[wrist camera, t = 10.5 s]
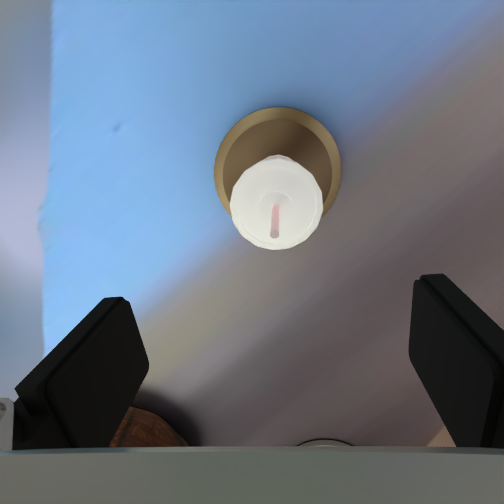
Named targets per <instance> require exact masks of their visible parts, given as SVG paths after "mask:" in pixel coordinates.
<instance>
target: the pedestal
mask: <svg viewBox="0 0 504 504" xmlns="http://www.w3.org/2000/svg"><path fill="white" fill-rule="evenodd" d="M274 155H282V156H286V157H289V158H290V159H292V160H293V161H294V162H297V163H298V164H300V165H301V166H302V167H304V168H305V169H306V170H307V171H309V172H310V173H311V174H312V175H313V177H314V178H315V180H316V182H317V184H318V186H319V188H320V190H321V192H322V202H323V212H322V215H321V217H320V219H321V218H322V217H323V216H324V215H325V214H326V212H327V211H328V210H329V209H330V207H331V206H332V204H333V202H334V200H335V198H336V196H337V194H338V190H339V187H340V182H341V174H342V167H341V159H340V154H339V151H338V148H337V145H336V143H335V141H334V139H333V137H332V136H331V134H330V133H329V132H328V130H327V129H326V128H325V127H324V126H323V125H322V124H321V123H320V122H319V121H318V120H316V119H315V118H314V117H312V116H310V115H308V114H307V113H305V112H302V111H299V110H296V109H292V108H286V107H272V108H266V109H262V110H259V111H256V112H253V113H251V114H249V115H248V116H246V117H244V118H243V119H241V120H240V121H239V122H237V123H236V124H235V125H234V126H233V127H232V128H231V129H230V131H229V132H228V133H227V134H226V136H225V137H224V139H223V141H222V142H221V145H220V147H219V149H218V152H217V156H216V159H215V166H214V180H215V186H216V190H217V194H218V196H219V199H220V201H221V203H222V205H223V207H224V208H225V209H226V211H227V212H228V214H229V215H230V216H231V217H232V215H231V209H230V200H231V196H232V191H233V187H234V185H235V184H236V183H237V181H238V180H239V178H240V177H241V175H242V174H243V173H244V171H245V170H247V169H248V168H250V167H252V166H253V165H255V164H256V163H258V162H260V161H262V160H264V159H265V158H267V157H269V156H274Z"/></svg>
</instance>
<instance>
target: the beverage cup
mask: <svg viewBox="0 0 504 504" xmlns="http://www.w3.org/2000/svg"><path fill="white" fill-rule="evenodd" d="M230 209H231V215H232V220H233V223H234V224H235V226H236V227H237V229H238V230H239V232H240V233H241V235H242V236H243V237H244V238H246V239H247V240H249V241H250V242H251V243H253V244H254V245H256V246H259V247H263V248H267V249H271V250H278V249H287V248H291V247H293V246H295V245H297V244H299V243H301V242H303V241H305V240H306V239H307V238H308V237H309V236H310V235H311V233H312V232H313V231H314V230H315V229H316V228H317V226H318V223H319V220H320V217H321V215H322V212H323V202H322V192H321V190H320V188H319V186H318V184H317V182H316V180H315V178H314V177H313V175H312V174H311V173H310V172H309V171H307V170H306V169H305V168H304V167H302V166H301V165H300V164H298V163H297V162H294V161H293V160H292V159H290V158H289V157H286V156H282V155H274V156H269V157H267V158H265V159H264V160H262V161H260V162H258V163H256V164H255V165H253V166H252V167H250V168H248V169H247V170H245V171H244V173H243V174H242V175H241V177H240V178H239V180H238V181H237V183H236V184H235V185H234V187H233V191H232V196H231V200H230Z"/></svg>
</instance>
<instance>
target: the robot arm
mask: <svg viewBox="0 0 504 504" xmlns="http://www.w3.org/2000/svg"><path fill="white" fill-rule="evenodd" d="M409 357H410V361H411V363H412V365H413V367H414V368H415V370H416V372H417V374H418V376H419V378H420V380H421V381H422V383H423V385H424V387H425V389H426V391H427V393H428V395H429V396H430V398H431V400H432V402H433V404H434V406H435V408H436V409H437V411H438V413H439V415H440V417H441V419H442V421H443V422H444V424H445V426H446V428H447V430H448V432H449V434H450V435H451V437H452V439H453V441H454V443H455V445H456V447H417V446H350V445H348V444H345V443H342V442H338V441H334V440H316V441H310V442H307V443H304V444H302V445H300V446H239V447H124V448H108V447H109V445H110V443H111V441H112V439H113V437H114V435H115V433H116V432H117V430H118V428H119V426H120V424H121V422H122V420H123V418H124V416H125V414H126V413H127V411H128V409H129V407H130V405H131V403H132V401H133V399H134V397H135V395H136V394H137V392H138V390H139V388H140V386H141V384H142V382H143V380H144V378H145V376H146V375H147V373H148V370H149V360H148V357H147V354H146V351H145V348H144V345H143V342H142V339H141V336H140V333H139V330H138V327H137V323H136V320H135V317H134V314H133V311H132V308H131V305H130V303H129V301H127V300H125V299H124V298H123V297H109V298H104V299H102V300H101V301H100V302H99V303H98V304H97V305H96V307H95V308H94V309H93V310H92V311H91V312H90V313H89V314H88V315H87V316H86V317H85V318H84V319H83V320H82V321H81V322H80V323H79V324H78V325H77V326H76V327H75V328H74V329H73V330H72V331H71V332H70V333H69V334H68V335H67V336H66V337H65V338H64V339H63V340H62V341H61V342H60V343H59V344H58V345H57V346H56V347H55V348H54V349H53V350H52V351H51V352H50V353H49V354H48V355H47V356H46V357H45V358H44V359H43V360H42V361H41V362H40V363H39V364H38V365H37V366H36V367H35V368H34V369H33V370H32V371H31V372H30V373H29V374H28V375H27V376H26V377H25V378H24V379H23V380H22V381H21V382H20V383H19V384H18V385H17V386H16V387H15V390H16V392H17V394H18V396H19V398H18V399H17V400H16V401H15V402H13V401H12V400H11V399H9V398H0V504H504V331H503V330H502V329H501V328H500V327H499V326H498V325H497V324H496V323H495V322H494V321H493V320H492V319H491V318H490V317H489V316H488V315H487V314H486V313H485V312H483V311H482V310H481V309H480V308H479V307H478V306H477V305H476V304H475V303H474V302H473V301H472V300H471V299H470V298H469V297H468V296H467V295H466V294H464V293H463V292H462V291H461V290H460V289H459V288H458V287H457V286H456V285H455V284H454V283H453V282H452V281H451V280H450V279H449V278H448V277H447V276H445V275H444V274H429V275H422V276H421V277H420V280H415V282H414V286H413V299H412V312H411V325H410V337H409Z"/></svg>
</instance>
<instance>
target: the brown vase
mask: <svg viewBox="0 0 504 504" xmlns="http://www.w3.org/2000/svg"><path fill="white" fill-rule="evenodd" d="M124 447H189V446H188V444H187V443H186V441H185V440H184V439H183V438H182V437H181V436H180V435H178V434H177V433H176V432H175V431H174V430H173V429H172V428H171V427H170V426H169V425H168V424H167V423H166V422H165V421H164V420H163V419H162V418H160V417H159V416H157V415H156V414H153V413H151V412H148V411H145V410H142V409H138V408H133V407H129V409H128V411H127V413H126V414H125V416H124V418H123V420H122V422H121V424H120V426H119V428H118V430H117V432H116V433H115V435H114V437H113V439H112V441H111V443H110V445H109V447H108V448H124Z"/></svg>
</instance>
